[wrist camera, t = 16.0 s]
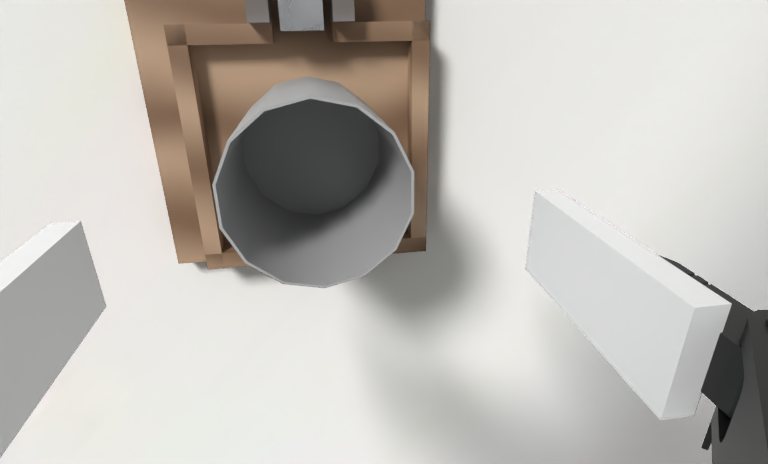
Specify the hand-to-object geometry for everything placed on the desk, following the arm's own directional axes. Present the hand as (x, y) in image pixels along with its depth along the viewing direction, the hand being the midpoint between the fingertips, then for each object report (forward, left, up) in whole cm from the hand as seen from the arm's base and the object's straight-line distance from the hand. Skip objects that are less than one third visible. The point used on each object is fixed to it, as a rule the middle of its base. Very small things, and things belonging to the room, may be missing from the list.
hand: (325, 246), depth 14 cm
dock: (-1, -1, -18) cm, 18 cm away
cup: (0, 0, -16) cm, 16 cm away
